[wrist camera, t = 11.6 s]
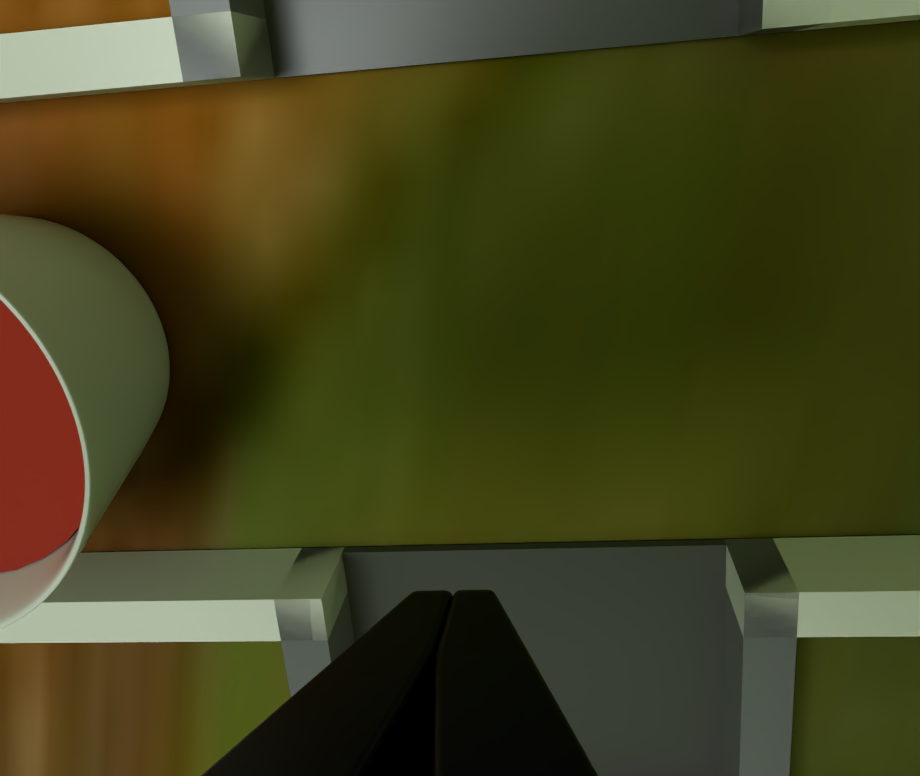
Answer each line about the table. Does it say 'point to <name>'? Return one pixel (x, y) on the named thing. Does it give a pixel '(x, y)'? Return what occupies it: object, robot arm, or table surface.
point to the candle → (67, 398)
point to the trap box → (490, 565)
